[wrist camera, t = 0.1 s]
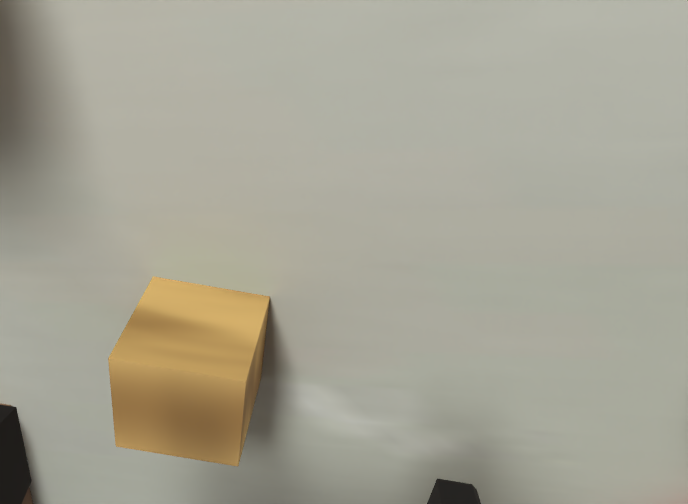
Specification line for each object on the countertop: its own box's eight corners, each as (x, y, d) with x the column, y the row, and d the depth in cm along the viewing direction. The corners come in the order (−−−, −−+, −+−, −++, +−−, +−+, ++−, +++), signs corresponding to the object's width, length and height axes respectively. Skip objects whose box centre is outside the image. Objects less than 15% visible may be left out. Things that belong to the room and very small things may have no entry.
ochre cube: (261, 376, 24) (238, 466, 21) (156, 358, 24) (115, 446, 20) (270, 295, 22) (246, 381, 18) (153, 275, 21) (108, 358, 18)
